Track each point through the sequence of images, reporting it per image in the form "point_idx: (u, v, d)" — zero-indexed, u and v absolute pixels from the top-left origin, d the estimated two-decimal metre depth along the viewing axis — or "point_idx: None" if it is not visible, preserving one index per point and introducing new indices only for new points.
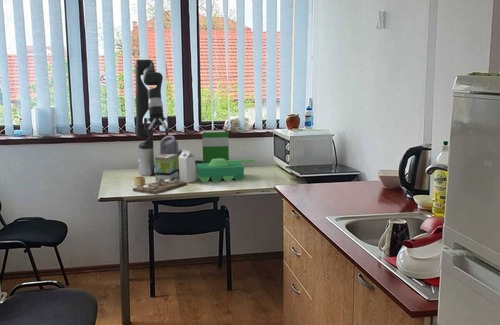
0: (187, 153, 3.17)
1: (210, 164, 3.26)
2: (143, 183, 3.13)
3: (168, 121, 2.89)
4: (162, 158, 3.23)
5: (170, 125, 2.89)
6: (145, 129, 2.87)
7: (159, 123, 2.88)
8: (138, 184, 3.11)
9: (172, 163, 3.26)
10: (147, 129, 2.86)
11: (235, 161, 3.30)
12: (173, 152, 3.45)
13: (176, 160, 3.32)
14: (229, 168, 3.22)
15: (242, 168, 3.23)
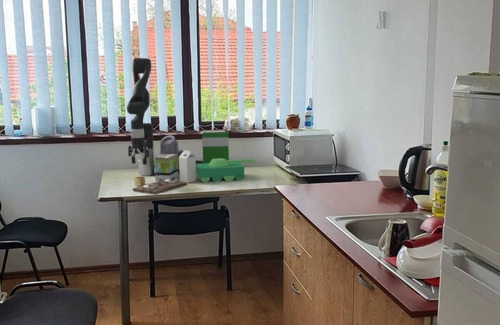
0: (188, 153, 3.18)
1: (210, 164, 3.26)
2: (143, 183, 3.13)
3: (144, 151, 3.07)
4: (162, 158, 3.23)
5: (146, 155, 3.07)
6: None
7: (138, 152, 3.10)
8: (138, 184, 3.11)
9: (172, 163, 3.26)
10: (131, 156, 3.14)
11: (235, 161, 3.30)
12: (173, 152, 3.45)
13: (176, 160, 3.32)
14: (230, 168, 3.22)
15: (242, 168, 3.23)
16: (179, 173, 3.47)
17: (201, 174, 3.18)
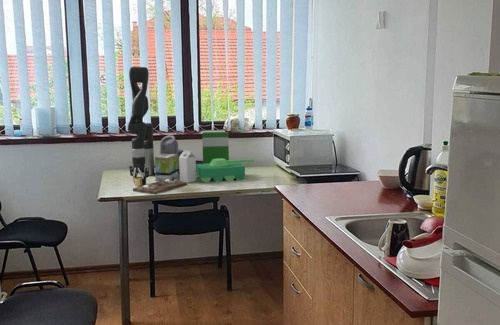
0: (188, 153, 3.18)
1: (211, 164, 3.25)
2: None
3: (144, 172, 3.09)
4: (162, 158, 3.23)
5: (145, 176, 3.10)
6: None
7: (138, 171, 3.12)
8: (138, 184, 3.11)
9: (172, 163, 3.26)
10: (133, 176, 3.16)
11: (235, 161, 3.30)
12: (173, 152, 3.45)
13: (176, 160, 3.32)
14: (230, 168, 3.22)
15: (243, 168, 3.24)
16: (179, 173, 3.47)
17: (202, 174, 3.18)
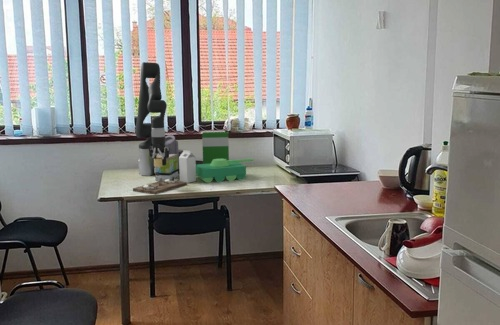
0: (188, 153, 3.18)
1: (212, 164, 3.25)
2: None
3: (165, 152, 2.99)
4: None
5: (165, 156, 2.99)
6: None
7: (158, 152, 3.01)
8: (158, 165, 3.01)
9: (172, 163, 3.26)
10: (152, 157, 3.05)
11: (235, 161, 3.31)
12: (173, 152, 3.46)
13: (176, 160, 3.32)
14: (232, 168, 3.22)
15: (244, 167, 3.25)
16: (179, 173, 3.47)
17: (204, 174, 3.17)
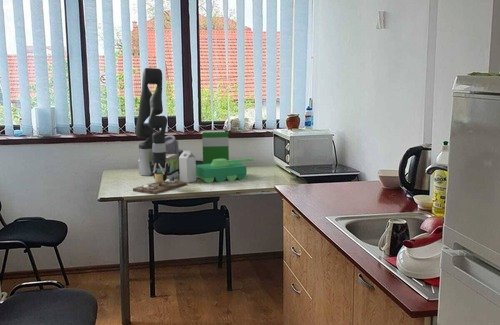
0: (188, 153, 3.18)
1: (212, 165, 3.24)
2: None
3: (165, 167, 3.00)
4: None
5: (166, 171, 3.00)
6: None
7: (159, 167, 3.03)
8: (159, 180, 3.02)
9: (172, 163, 3.26)
10: (153, 172, 3.07)
11: (235, 161, 3.31)
12: (173, 152, 3.46)
13: (176, 160, 3.32)
14: (233, 168, 3.22)
15: (245, 167, 3.26)
16: (179, 173, 3.48)
17: (205, 175, 3.16)
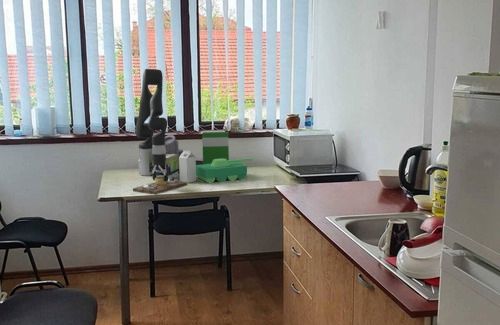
0: (188, 153, 3.18)
1: (213, 165, 3.24)
2: (164, 183, 3.04)
3: (166, 168, 3.00)
4: None
5: (167, 172, 3.00)
6: None
7: (159, 169, 3.03)
8: (159, 184, 3.03)
9: (172, 163, 3.26)
10: (152, 173, 3.07)
11: (235, 160, 3.31)
12: (173, 152, 3.46)
13: (176, 160, 3.32)
14: (233, 168, 3.23)
15: (245, 167, 3.26)
16: (179, 173, 3.48)
17: (207, 175, 3.16)
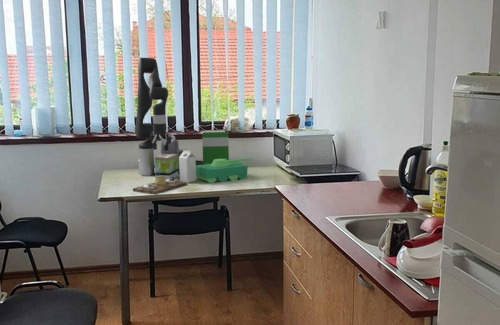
0: (188, 153, 3.18)
1: (213, 165, 3.23)
2: (164, 183, 3.04)
3: (166, 138, 3.03)
4: (162, 158, 3.23)
5: (168, 142, 3.03)
6: None
7: (160, 138, 3.06)
8: (159, 184, 3.03)
9: (172, 163, 3.26)
10: (152, 142, 3.11)
11: (235, 160, 3.32)
12: (174, 152, 3.47)
13: (176, 160, 3.32)
14: (234, 167, 3.23)
15: (246, 167, 3.27)
16: None
17: (209, 175, 3.15)
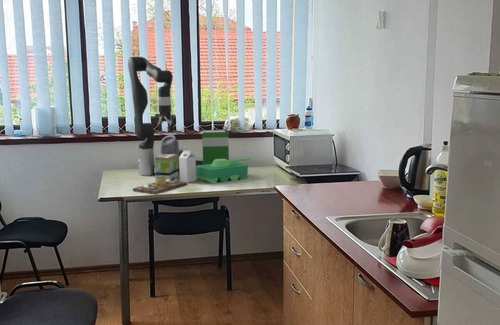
0: (188, 153, 3.18)
1: (214, 165, 3.23)
2: (164, 183, 3.04)
3: (171, 119, 3.16)
4: (162, 158, 3.23)
5: (173, 123, 3.16)
6: (158, 123, 3.25)
7: (165, 120, 3.19)
8: (159, 184, 3.03)
9: (172, 163, 3.26)
10: (158, 124, 3.23)
11: (235, 160, 3.32)
12: (174, 151, 3.47)
13: (176, 160, 3.32)
14: (235, 167, 3.23)
15: (246, 166, 3.28)
16: (179, 172, 3.49)
17: (210, 175, 3.15)
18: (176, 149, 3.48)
